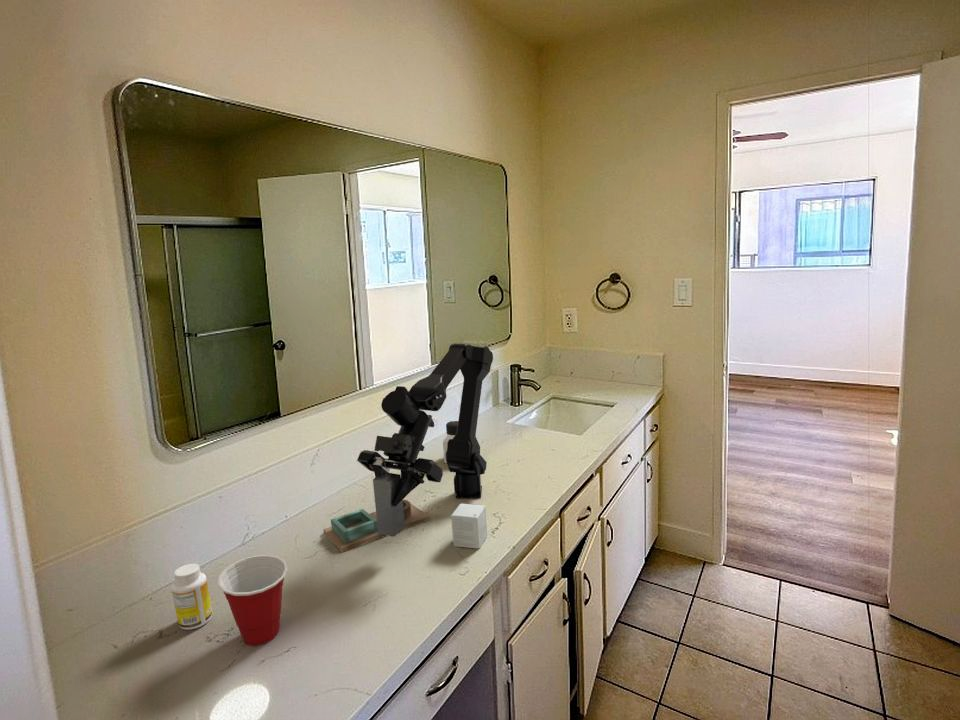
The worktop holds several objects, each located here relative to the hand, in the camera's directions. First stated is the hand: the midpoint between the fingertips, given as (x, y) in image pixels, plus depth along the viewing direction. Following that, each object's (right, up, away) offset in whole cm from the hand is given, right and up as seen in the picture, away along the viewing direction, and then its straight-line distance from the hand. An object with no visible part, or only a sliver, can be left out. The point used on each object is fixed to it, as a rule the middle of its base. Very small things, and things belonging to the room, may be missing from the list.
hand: (384, 504), depth 114 cm
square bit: (+1, -6, +2) cm, 7 cm away
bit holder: (-5, -10, +17) cm, 20 cm away
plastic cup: (-18, -18, -19) cm, 31 cm away
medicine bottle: (+13, -1, +57) cm, 59 cm away
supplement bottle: (-31, -18, -14) cm, 39 cm away
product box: (+17, -10, +8) cm, 22 cm away
